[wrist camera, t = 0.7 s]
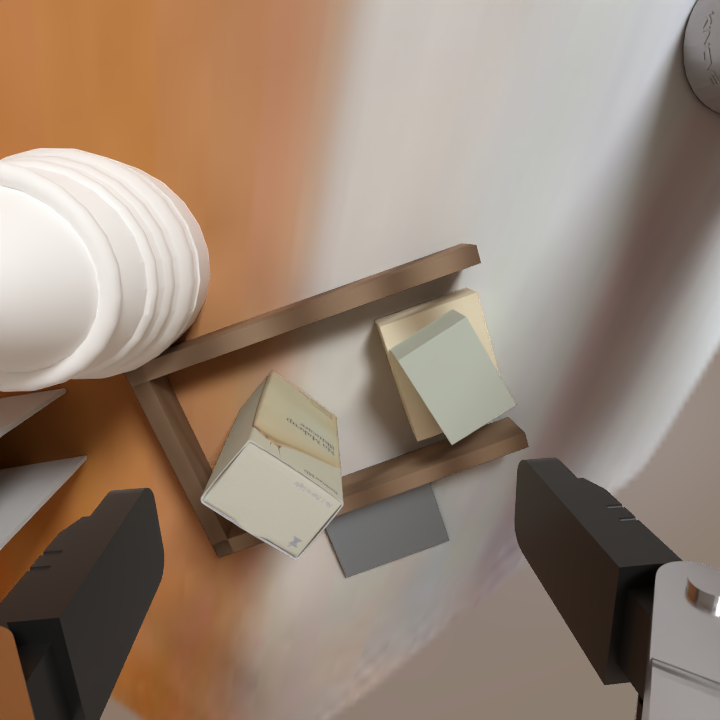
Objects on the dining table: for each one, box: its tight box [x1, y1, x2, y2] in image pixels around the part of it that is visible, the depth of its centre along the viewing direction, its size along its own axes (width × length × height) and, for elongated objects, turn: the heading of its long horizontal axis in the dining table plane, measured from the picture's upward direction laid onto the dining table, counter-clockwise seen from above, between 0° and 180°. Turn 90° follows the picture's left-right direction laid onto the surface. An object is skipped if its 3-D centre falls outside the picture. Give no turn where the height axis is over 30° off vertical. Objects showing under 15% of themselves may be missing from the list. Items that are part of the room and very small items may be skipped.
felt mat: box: [326, 482, 449, 577], centre depth 39 cm, size 9×7×1 cm
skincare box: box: [201, 371, 344, 560], centre depth 30 cm, size 6×4×12 cm
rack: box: [124, 244, 528, 558], centre depth 34 cm, size 24×15×3 cm, turn 109°
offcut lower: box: [375, 288, 499, 442], centre depth 35 cm, size 7×9×3 cm
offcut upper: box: [390, 309, 517, 445], centre depth 32 cm, size 5×7×3 cm
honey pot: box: [0, 148, 210, 392], centre depth 23 cm, size 13×13×18 cm
